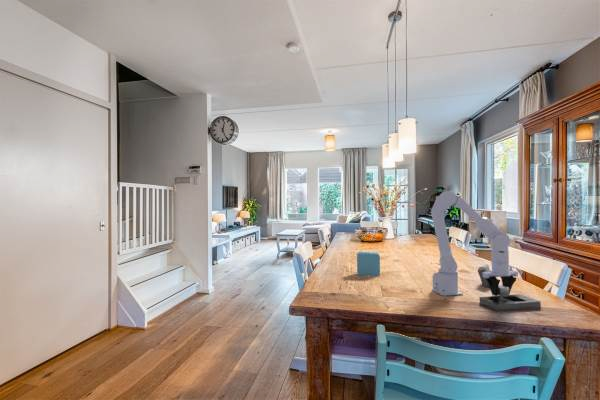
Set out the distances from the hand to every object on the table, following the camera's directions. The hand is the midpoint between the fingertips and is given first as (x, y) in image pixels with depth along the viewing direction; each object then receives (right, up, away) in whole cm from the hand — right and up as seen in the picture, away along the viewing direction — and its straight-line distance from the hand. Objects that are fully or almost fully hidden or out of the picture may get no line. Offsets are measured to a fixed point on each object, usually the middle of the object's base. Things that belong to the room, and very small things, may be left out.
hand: (500, 294), depth 113 cm
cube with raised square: (0, -2, 0) cm, 2 cm away
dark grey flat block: (-3, -1, -8) cm, 9 cm away
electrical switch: (+6, -2, +17) cm, 18 cm away
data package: (-45, -3, +38) cm, 59 cm away
